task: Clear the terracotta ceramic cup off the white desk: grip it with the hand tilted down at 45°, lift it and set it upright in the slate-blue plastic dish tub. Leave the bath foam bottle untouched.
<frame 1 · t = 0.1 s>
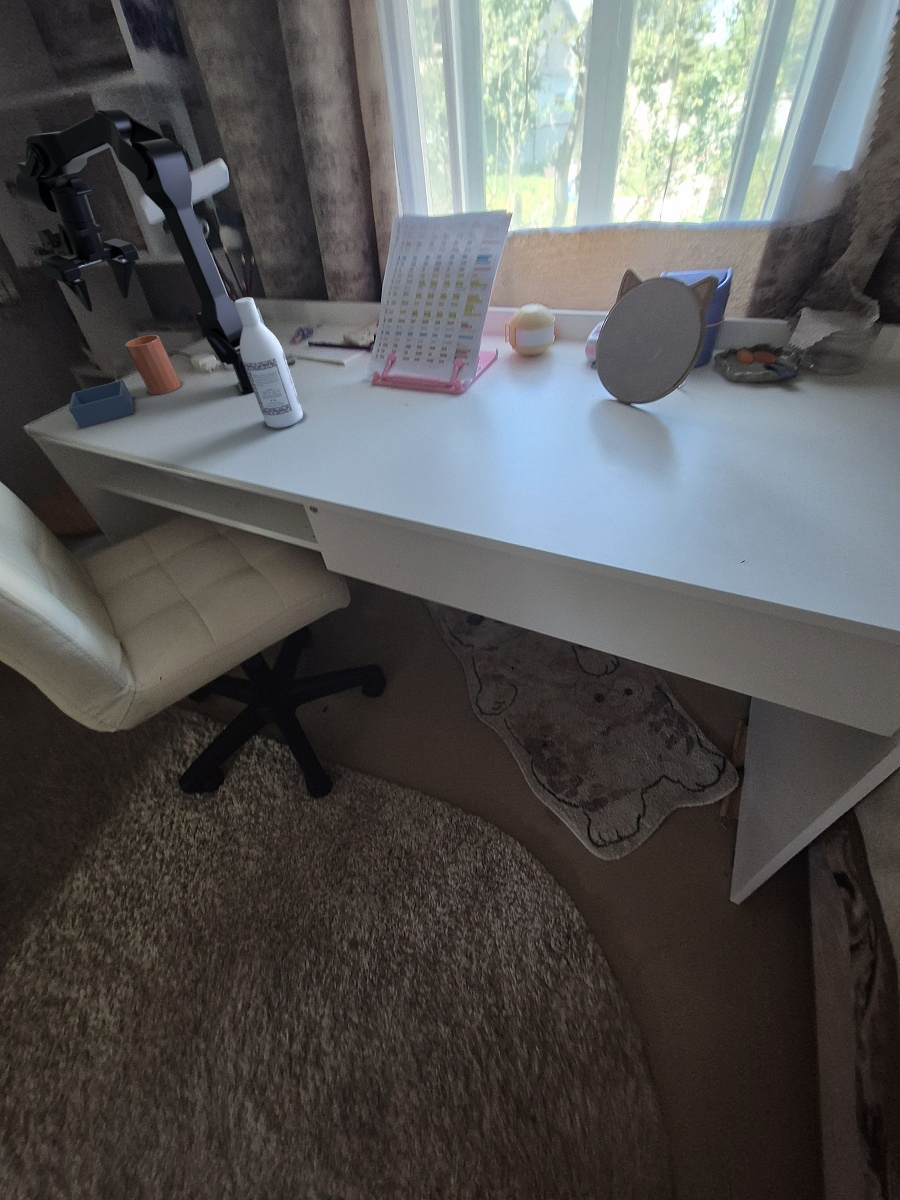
hand: (107, 304, 114), 15 cm above the table, tool pointing down, fingers open, 9 cm apart
bath foam: (285, 421, 97), on the table
tub: (107, 412, 110), on the table
cup: (165, 388, 117), on the table
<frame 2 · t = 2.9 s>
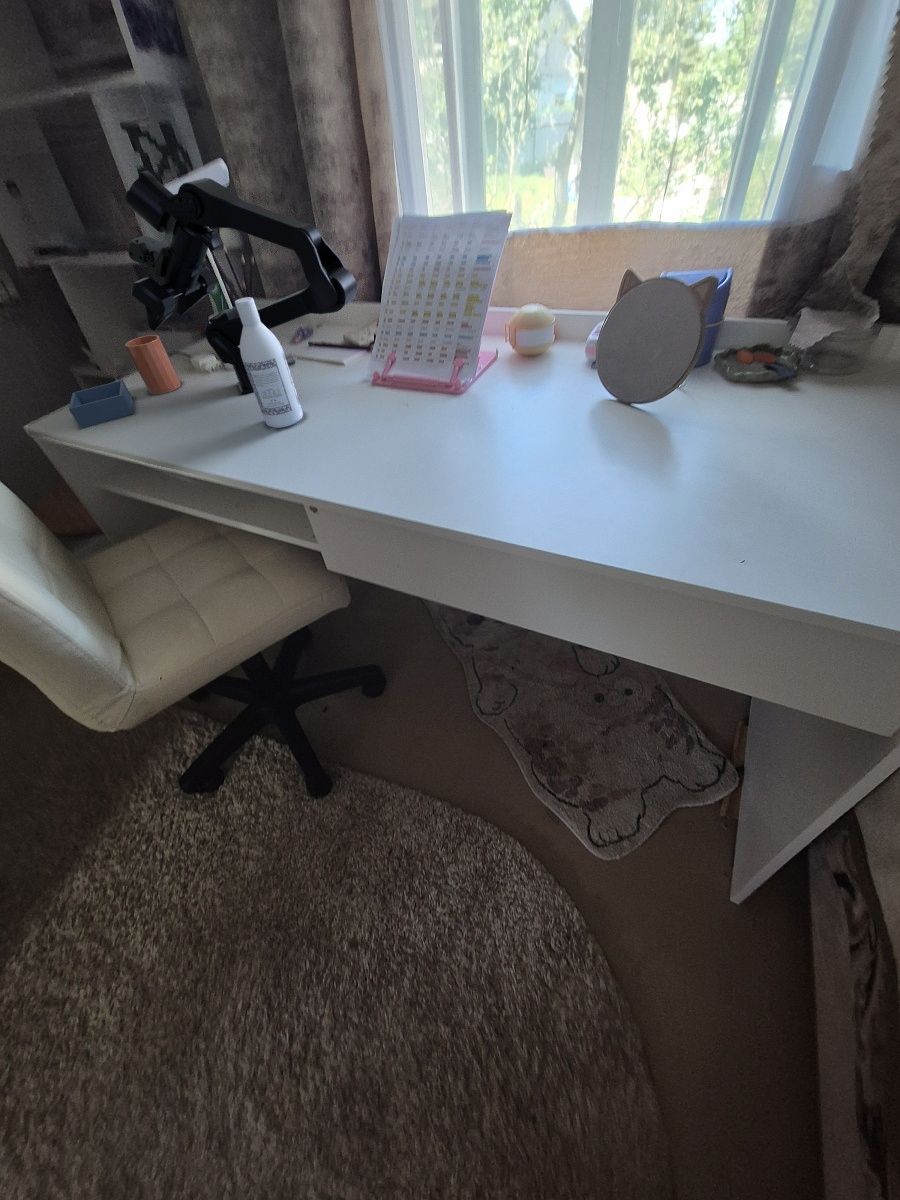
hand: (165, 321, 106), 13 cm above the table, tool tilted 45°, fingers open, 9 cm apart
nothing on the table moved.
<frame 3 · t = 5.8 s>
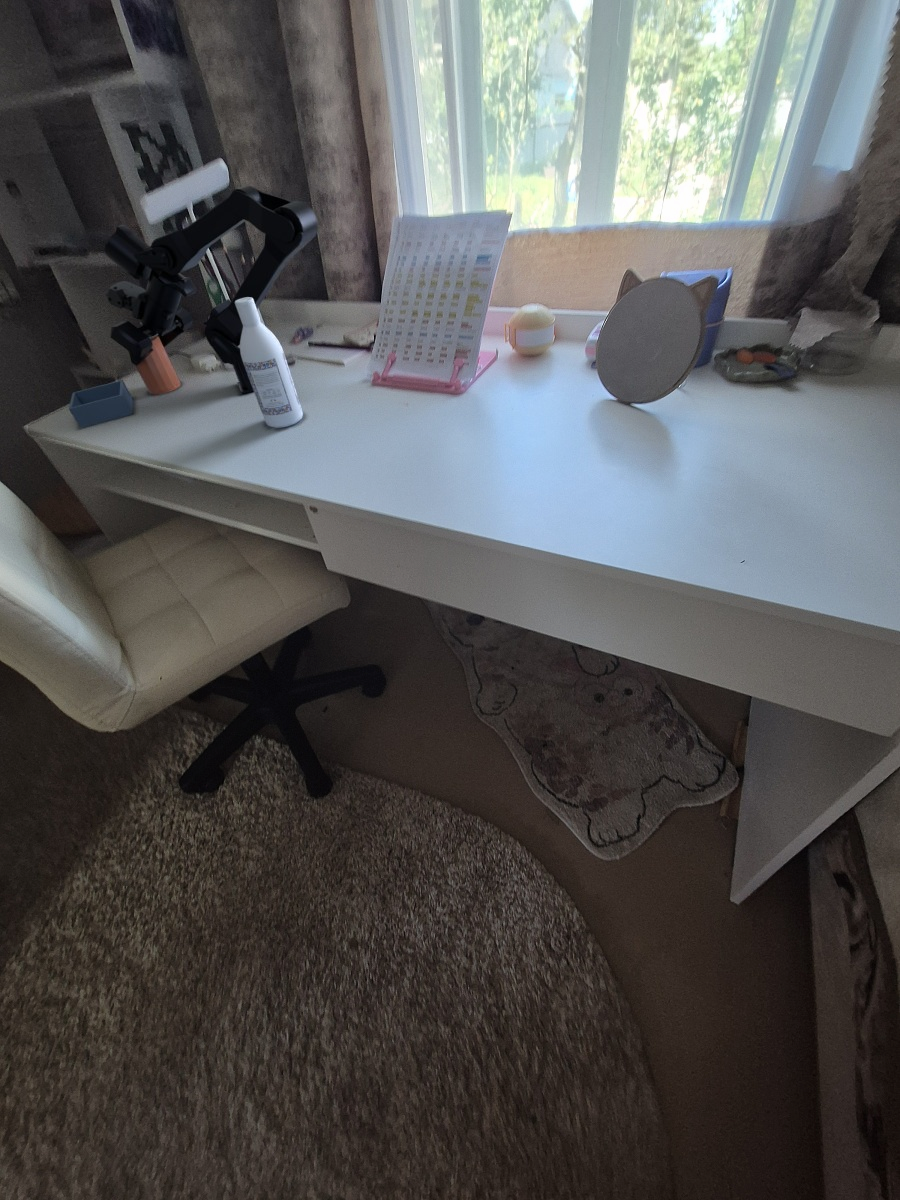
hand: (144, 357, 112), 7 cm above the table, tool tilted 45°, fingers closed on cup, 7 cm apart
cup: (165, 388, 117), on the table, touching gripper
everything else where it was.
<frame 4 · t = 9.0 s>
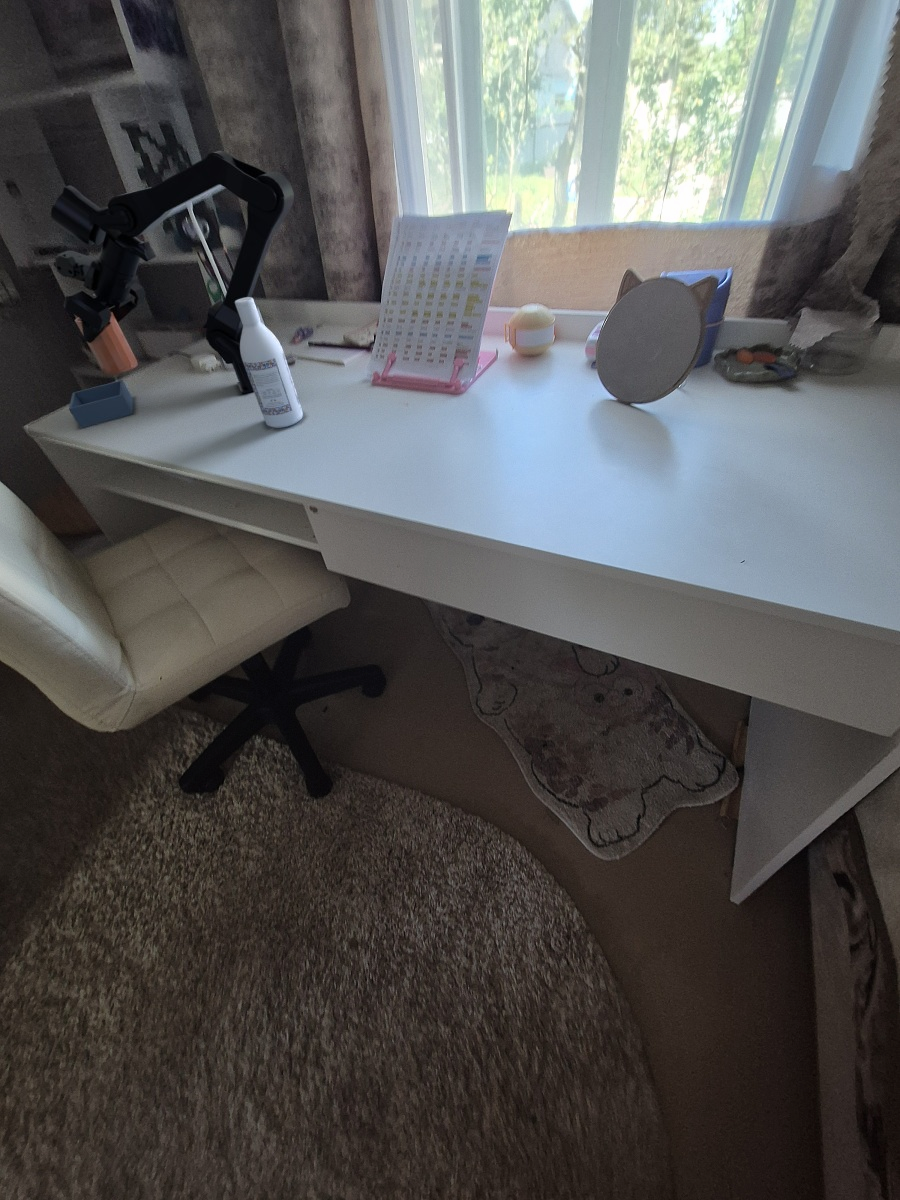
hand: (96, 335, 105), 13 cm above the table, tool tilted 45°, fingers closed on cup, 7 cm apart
cup: (121, 368, 109), point 6 cm above the table, touching gripper
everything else where it was.
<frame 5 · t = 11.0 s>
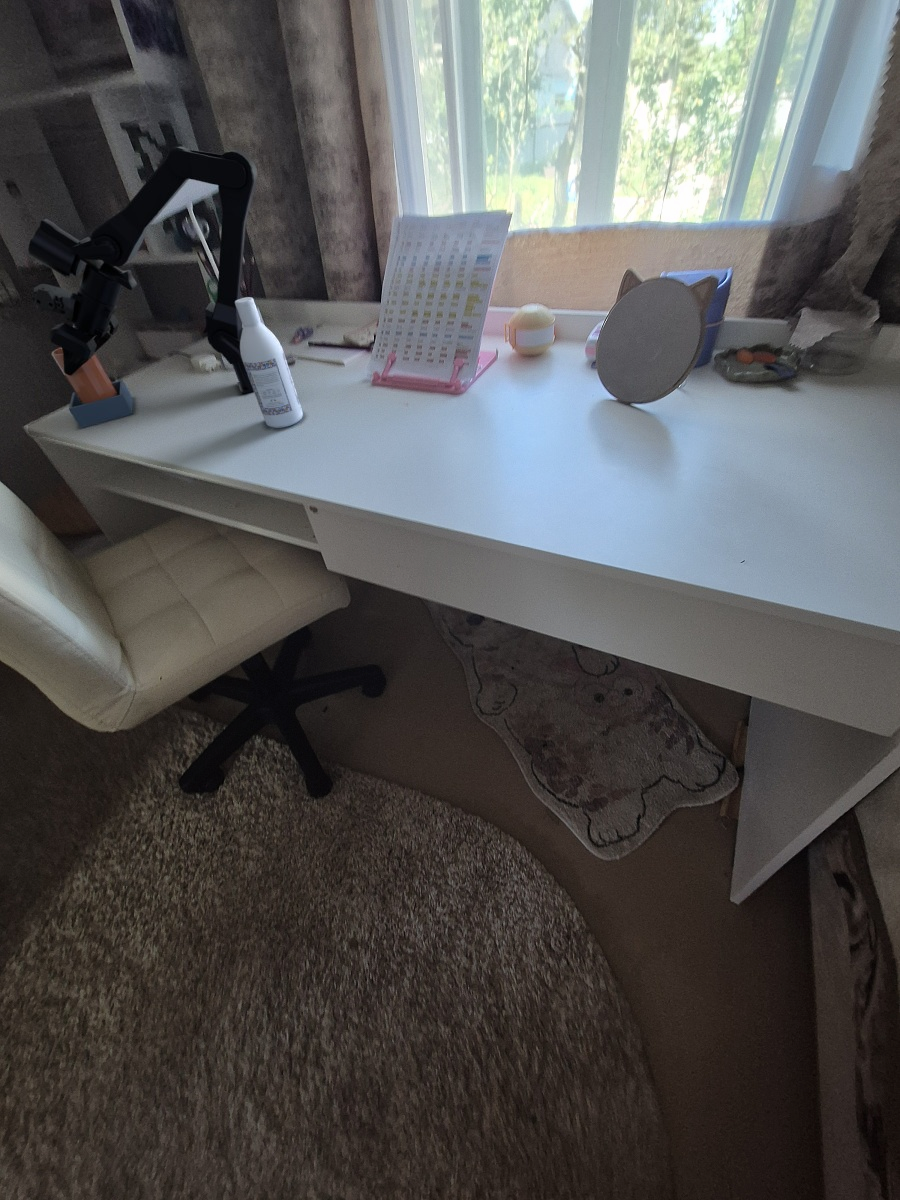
hand: (74, 367, 103), 9 cm above the table, tool tilted 45°, fingers closed on cup, 7 cm apart
cup: (100, 399, 108), point 3 cm above the table, touching gripper
everything else where it was.
when the fingers open (7 cm above the table, at t = 12.4 s): cup stays where it is, resting on tub.
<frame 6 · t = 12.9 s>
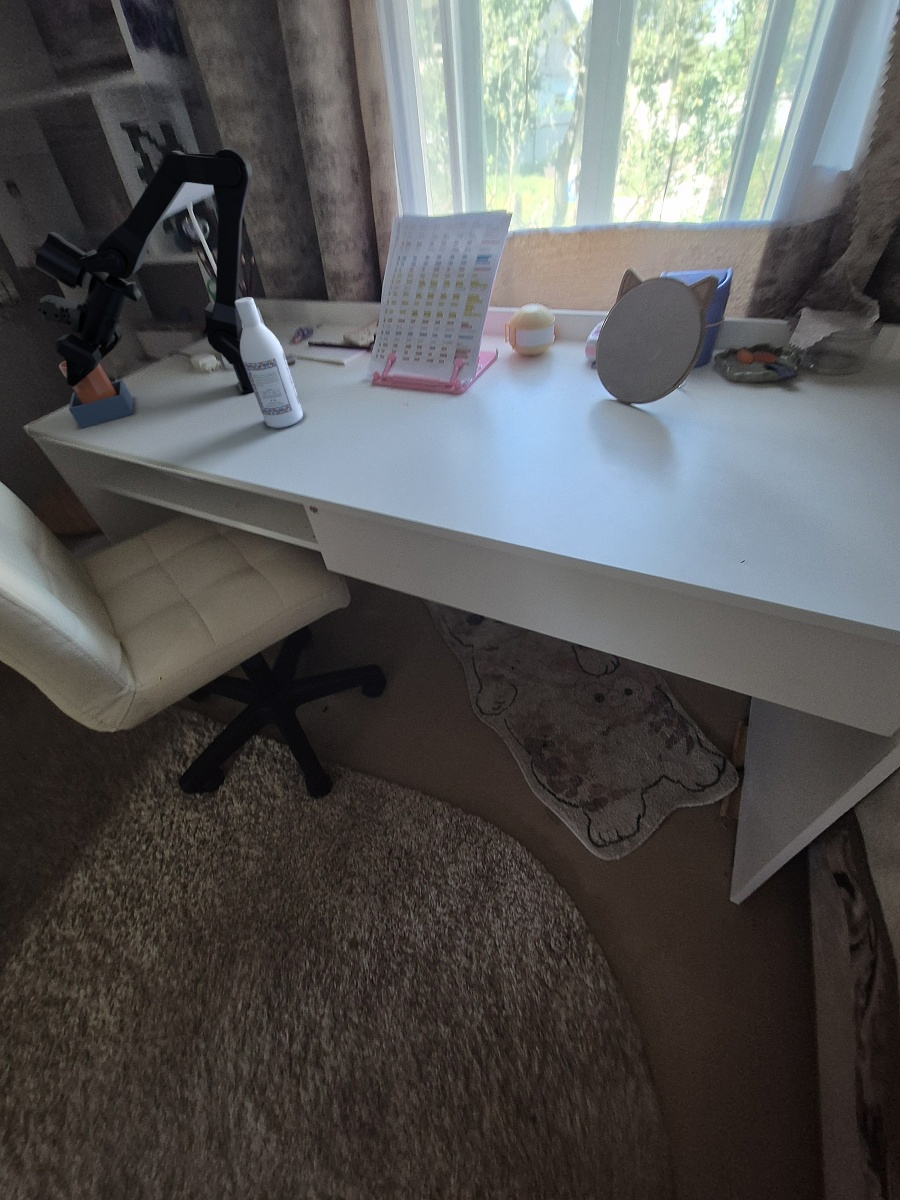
hand: (78, 376, 104), 8 cm above the table, tool tilted 45°, fingers open, 9 cm apart
cup: (106, 410, 109), resting on tub
everything else where it was.
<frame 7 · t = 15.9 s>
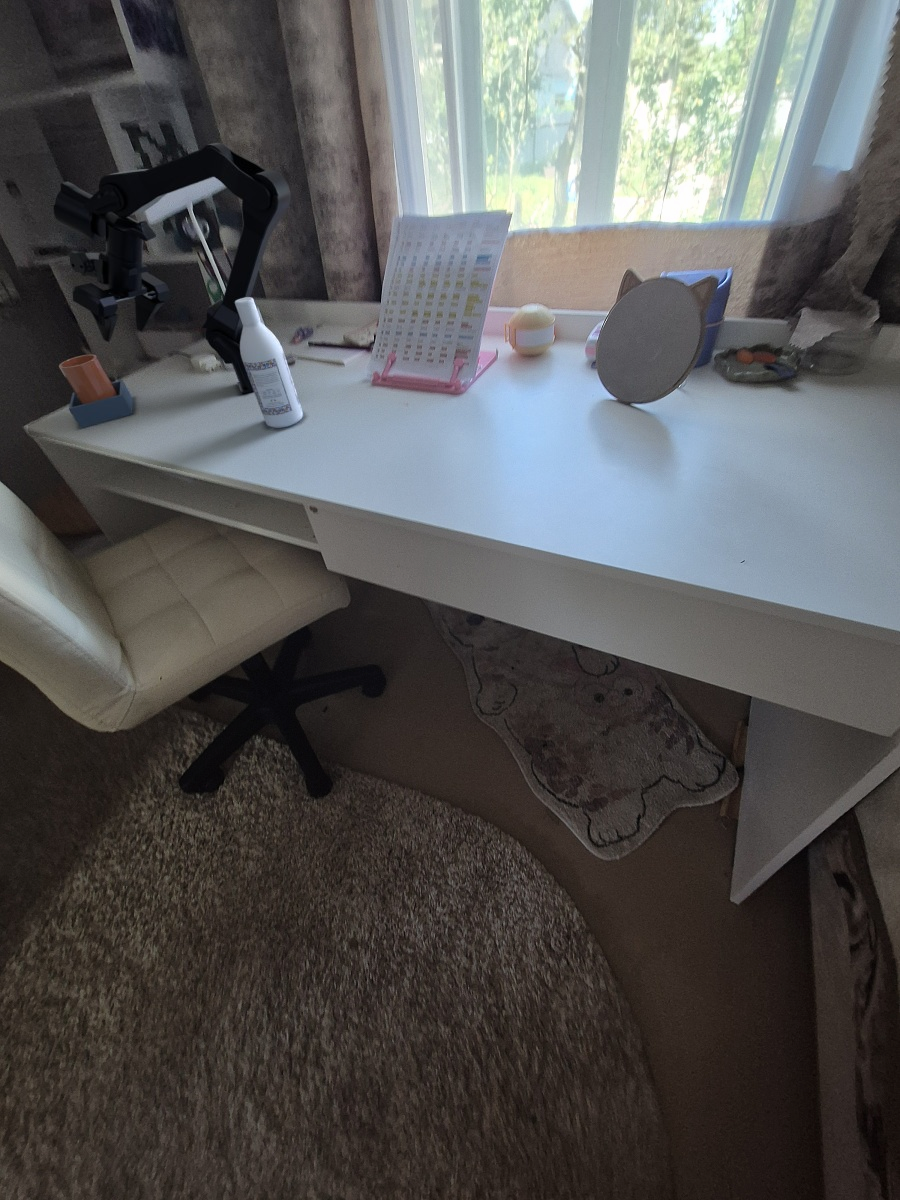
hand: (123, 335, 106), 12 cm above the table, tool tilted 30°, fingers open, 9 cm apart
nothing on the table moved.
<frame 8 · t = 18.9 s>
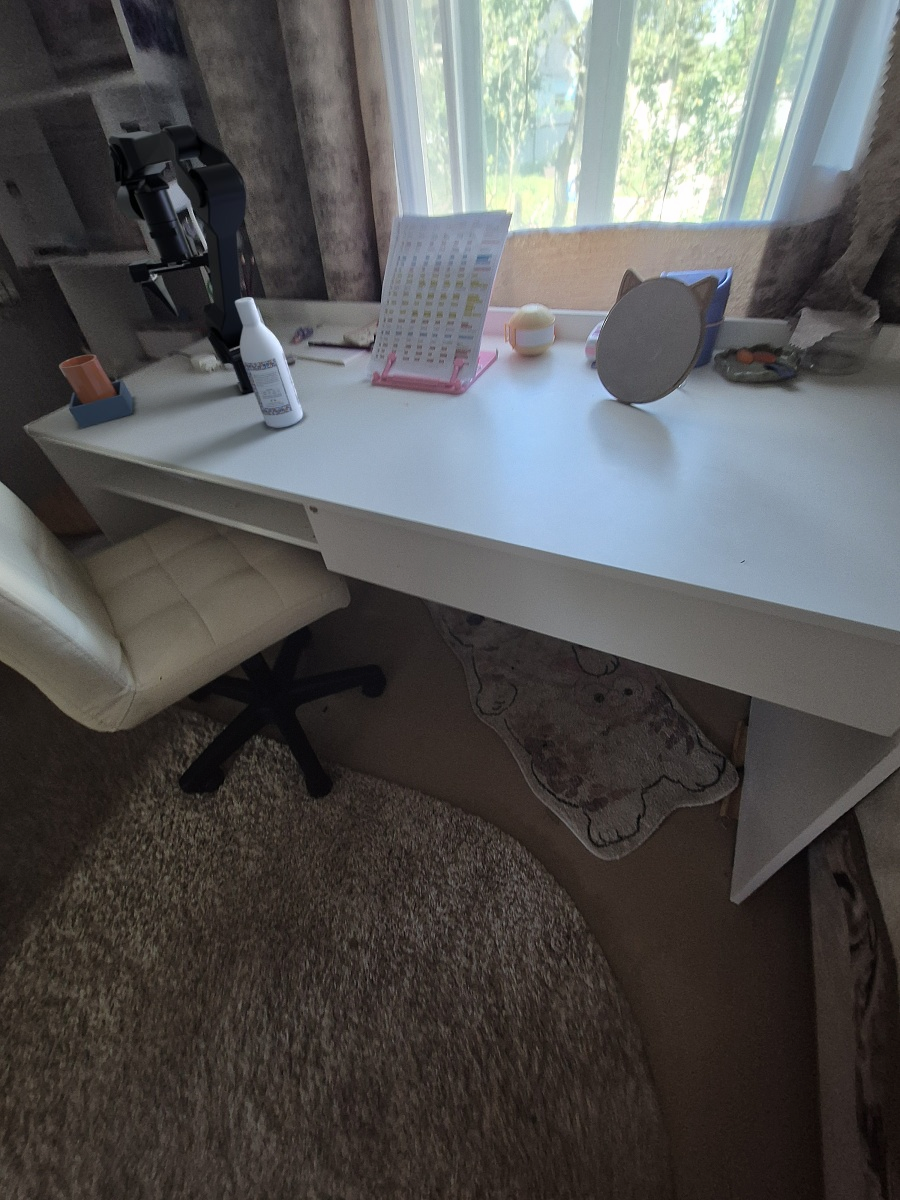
hand: (199, 312, 109), 13 cm above the table, tool pointing down, fingers open, 9 cm apart
nothing on the table moved.
at the end: cup inside the target area in the tub (0.0 cm from its centre), point 0.5 cm above the tub's base; cup tilted 0°; bath foam moved 0.2 cm from its start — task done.
